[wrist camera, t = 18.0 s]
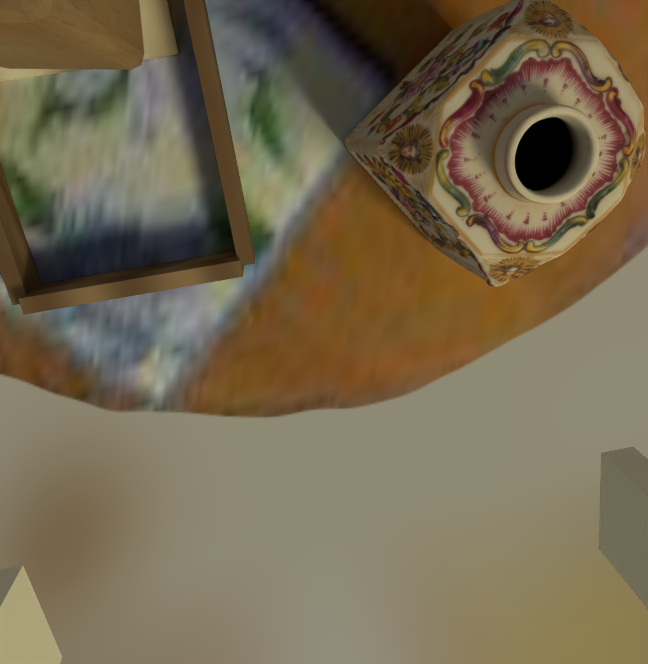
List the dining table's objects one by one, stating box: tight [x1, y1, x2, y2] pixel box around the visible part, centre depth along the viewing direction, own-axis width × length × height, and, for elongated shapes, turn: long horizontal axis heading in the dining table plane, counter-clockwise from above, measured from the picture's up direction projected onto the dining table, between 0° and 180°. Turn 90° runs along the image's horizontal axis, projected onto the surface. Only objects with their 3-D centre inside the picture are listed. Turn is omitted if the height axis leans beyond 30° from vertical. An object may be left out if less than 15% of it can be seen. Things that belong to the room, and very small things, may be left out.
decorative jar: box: [344, 0, 646, 287], centre depth 36 cm, size 12×12×18 cm
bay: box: [0, 0, 255, 314], centre depth 38 cm, size 18×28×4 cm, turn 8°
